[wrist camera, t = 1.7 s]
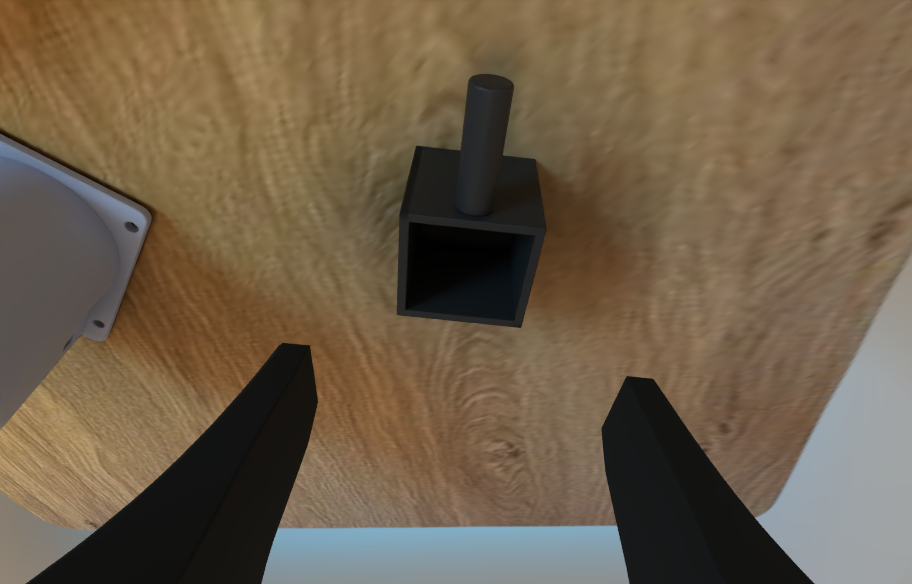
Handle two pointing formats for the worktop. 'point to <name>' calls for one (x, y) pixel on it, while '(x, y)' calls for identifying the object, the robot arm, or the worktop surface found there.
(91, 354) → the worktop surface
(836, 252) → the worktop surface
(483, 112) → the scoop
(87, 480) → the worktop surface
